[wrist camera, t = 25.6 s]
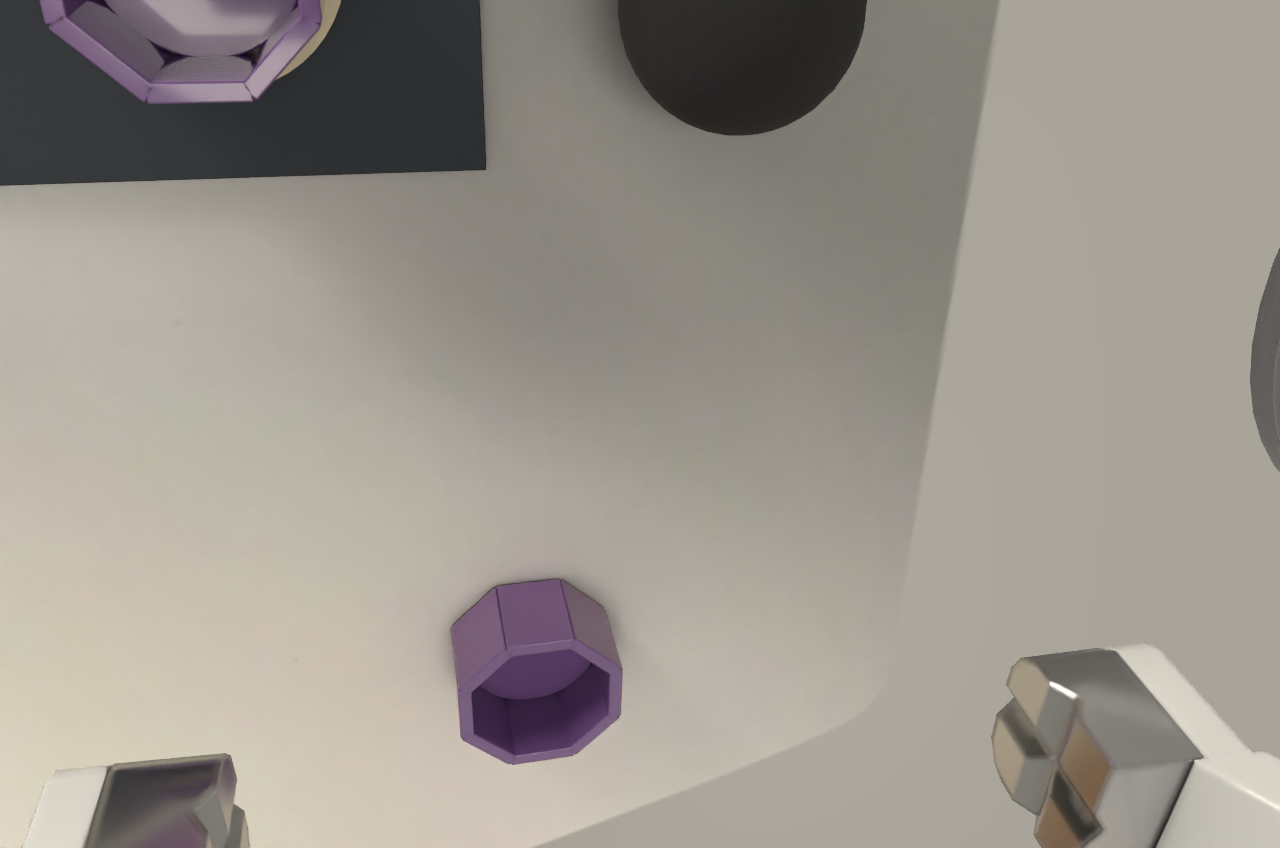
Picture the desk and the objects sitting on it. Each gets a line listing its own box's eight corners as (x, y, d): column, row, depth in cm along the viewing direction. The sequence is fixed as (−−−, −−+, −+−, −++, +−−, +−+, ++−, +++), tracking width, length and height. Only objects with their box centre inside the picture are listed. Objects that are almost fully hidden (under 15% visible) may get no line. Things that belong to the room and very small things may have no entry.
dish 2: (605, 572, 40) (624, 632, 37) (603, 686, 43) (619, 749, 41) (447, 590, 39) (454, 654, 36) (456, 706, 42) (463, 772, 39)
